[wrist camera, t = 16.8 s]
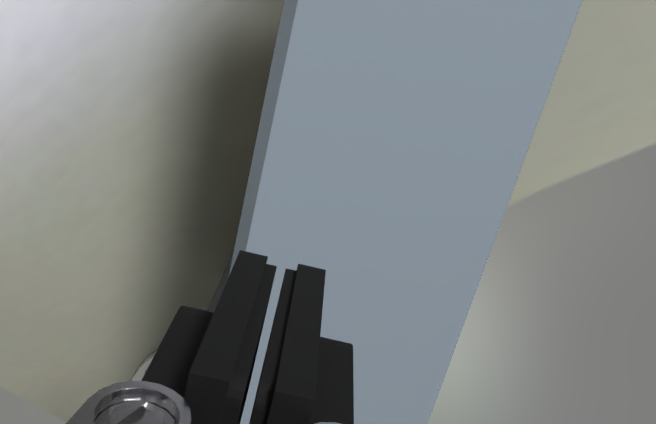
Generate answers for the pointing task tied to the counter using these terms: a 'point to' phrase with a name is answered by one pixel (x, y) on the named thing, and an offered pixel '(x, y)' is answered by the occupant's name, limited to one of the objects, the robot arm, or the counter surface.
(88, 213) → the counter surface
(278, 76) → the cover
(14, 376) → the counter surface
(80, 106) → the counter surface
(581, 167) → the counter surface
